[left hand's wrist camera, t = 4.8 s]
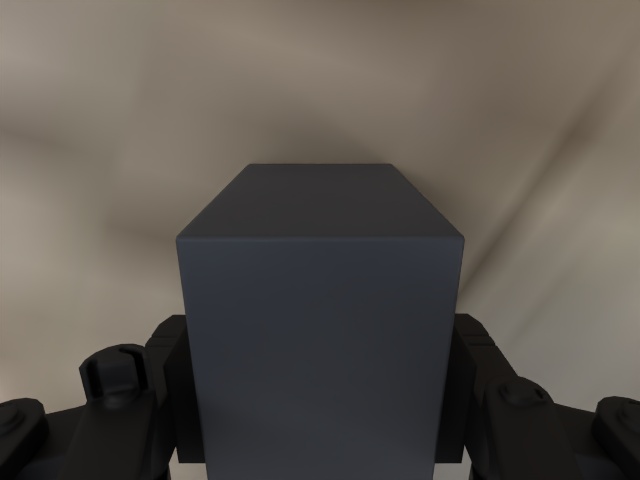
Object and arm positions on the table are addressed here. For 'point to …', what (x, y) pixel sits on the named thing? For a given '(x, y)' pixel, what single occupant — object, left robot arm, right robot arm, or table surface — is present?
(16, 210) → the table surface
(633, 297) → the table surface
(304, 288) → the beam
